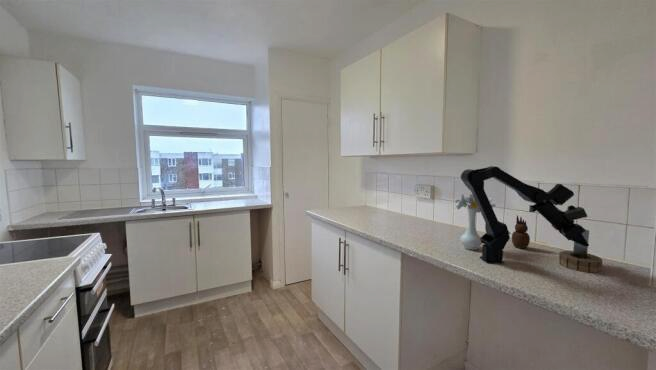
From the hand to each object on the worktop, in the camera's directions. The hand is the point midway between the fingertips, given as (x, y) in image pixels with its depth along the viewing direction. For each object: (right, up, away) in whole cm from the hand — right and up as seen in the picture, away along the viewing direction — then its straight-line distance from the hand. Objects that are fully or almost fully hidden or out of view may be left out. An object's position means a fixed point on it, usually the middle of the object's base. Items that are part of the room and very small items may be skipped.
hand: (585, 244), depth 106 cm
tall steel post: (-1, -7, +1) cm, 7 cm away
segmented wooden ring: (-1, -9, +1) cm, 9 cm away
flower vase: (-31, -7, +25) cm, 40 cm away
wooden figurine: (-9, -7, +24) cm, 26 cm away
